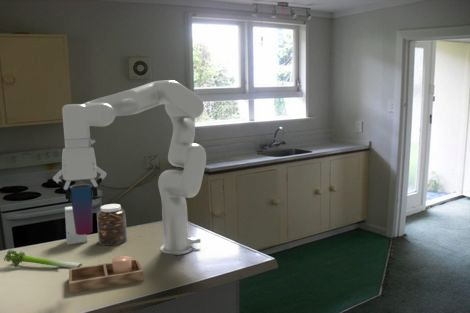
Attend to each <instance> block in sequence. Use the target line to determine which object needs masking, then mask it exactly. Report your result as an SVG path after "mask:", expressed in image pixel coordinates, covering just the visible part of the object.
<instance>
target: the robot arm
mask: <svg viewBox="0 0 470 313" xmlns="http://www.w3.org/2000/svg"><path fill="white" fill-rule="evenodd" d="M161 105H164V109H165V112H166V114H167V116H169V119H170V120H171V123H172V136H171V139H170V144H169V150H168V153H167V160H168V163H169V164H171V165H172V166H173V167H179V168H183V170H179V169H167V170H164V171H162V173H161V174H160V175H159V177H158V181H157V186H158V190H159V195H160V199H161V211H162V212H161V214H162V215H161V216H162V230H163V231H162V232H163V244H162V245H160V247H159V251H160V252H162V253H164V254H169V255H173V256H180V255H185V254H189V253H190V252H191V251H193V245H194V244H200V243H201V242H202V241H201V238H200V237H194V236H193V237H189V227H188V223H189V221H188V205H187V200H186V199H188V198H189V199H190V198H194V197H195V196H197V195H198V194H199V191H200V190H201V188H202V187H201V186H202V183H203V178H204V173H205V169H206V165H207V151H206V150H205V148H204V147H203V146H202V145H201V144H198V143H194V142H195V141H194V140H195V136H196V127H195V124H194V121H193V119H196V118H198V117H200V116H201V115H202V114H203V112H204V110H205V107H204V106H205V104H204V101H203V100H202V98H201V97H200V96H199V94H197V93H195V92H194V91H193V90H191V89H189V88H187V87H186V86H185V85H183V84H181V83H180V82H178V81H176V80H172V79H168V80H166V79H165V80H156V81H152V82H148V83H146V84H145V83H144V84H143V85H140V86H136V87H134V88H130V89H127V90H123V91H120V92H116V93H113V94H109V95H105V96H103V97H98V98H96V99H93V100H89V101H87V102H84V103H70V104H65V105H63V106H62V109H61V112H62V123H63V124H62V125H63V135H64V136H63V137H64V138H63V139H64V148H63V149H62V153H61V154H62V155H61V166H62V167H61V169H60V170H58V172H57V173H56V174H55V175H54V176H53V177H52V180H53V181H54V182H56V184H58V186H60V187H61V188H62V189H63V190H64V194H65V200H67V203H70V202H71V195H70V186H71V182H77V181H89V180H90V182H91V183H92V184H91V185H92V200H95V201H96V197H98V196H99V195H98V186H99V185H100V184H101V183H102V182H103V180H105V178H106V177H107V172H106V171H104V170H103V169H102V168H100V167H99V166H98V165H97V160H96V154H95V149H94V147H93V146H92V145H95V144H96V139H92V138H91V133H90V131H91V130H90V127H107V126H109V125H111V124H112V123H113V122H114V121H115V119H116V117H122V116H131V115H136V114H137V115H138V114H140V113H142V112H144V111H147V110H150V109H152V108H155V107H158V106H161ZM91 146H92V147H91ZM98 174H100V176H99V177H98V178H97V175H98ZM61 176H62V179H63V181H62V180H61V179H60V177H61ZM96 178H97V179H96ZM64 181H65V182H64ZM71 203H72V202H71Z"/></svg>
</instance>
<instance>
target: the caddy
mask: <svg viewBox="0 0 470 313" xmlns="http://www.w3.org/2000/svg"><path fill="white" fill-rule="evenodd" d="M131 264H132V272H127V273H121V274H115V275H113V263H112V262H111V261H110V262H106V263H101V264H94V265H93V264H92V265H86V266H78V268H68V284H69V286H68V287H69V294H74V293H81V292H86V291H92V290H99V289H103V288H104V289H105V288H109V287H114V286H120V285H121V286H122V285H127V284H133V283H138V282H144V270H143V268H142V266H141V264H140V262H139V259H138V258H131Z"/></svg>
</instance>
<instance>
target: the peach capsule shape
mask: <svg viewBox="0 0 470 313" xmlns="http://www.w3.org/2000/svg"><path fill="white" fill-rule="evenodd" d="M131 259H132V256H129V255H121V256H116V257H114V258H113V259H112V263H113V275H115V274H121V273H127V272H132V264H131Z"/></svg>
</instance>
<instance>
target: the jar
mask: <svg viewBox="0 0 470 313" xmlns="http://www.w3.org/2000/svg"><path fill="white" fill-rule="evenodd" d="M96 220H97V222H96V223H97V236H98V238H97V239H98V244H99V245H101V246H108V247H109V246H117V245H121V244H124V243H125V242H126V241H127V240H128V234H127V220H126V211H125V209H123V208H122V206H121V204H118V203H109V204H104V205H101V206H100V210H99V211H97V214H96Z"/></svg>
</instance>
